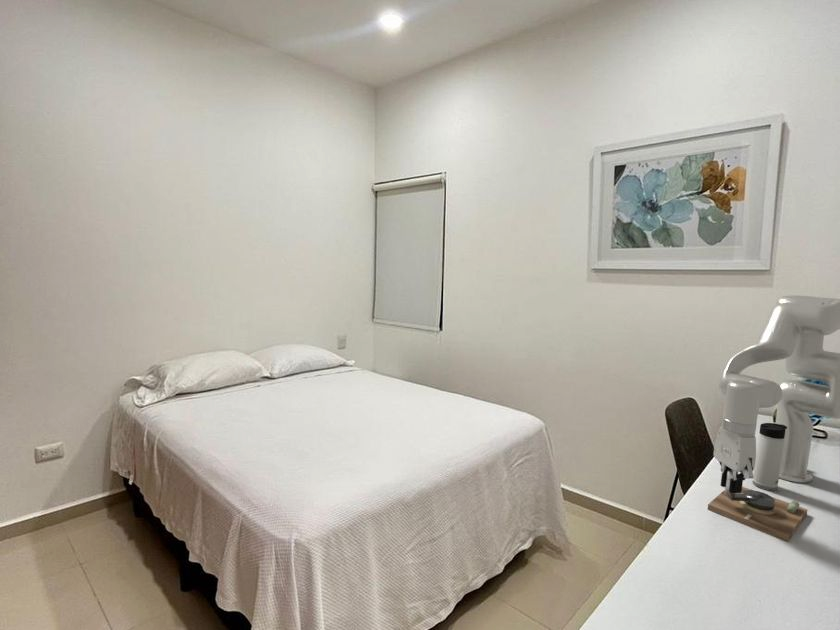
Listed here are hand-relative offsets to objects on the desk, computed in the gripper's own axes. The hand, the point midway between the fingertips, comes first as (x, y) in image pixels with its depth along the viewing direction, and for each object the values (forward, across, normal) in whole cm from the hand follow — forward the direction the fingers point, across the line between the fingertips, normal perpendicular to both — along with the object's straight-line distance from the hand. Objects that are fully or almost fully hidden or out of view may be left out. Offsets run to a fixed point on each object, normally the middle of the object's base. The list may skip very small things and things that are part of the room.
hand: (730, 488), depth 126 cm
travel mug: (+7, -14, +22) cm, 27 cm away
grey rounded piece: (+4, 0, +5) cm, 6 cm away
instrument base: (+6, +1, +8) cm, 10 cm away
